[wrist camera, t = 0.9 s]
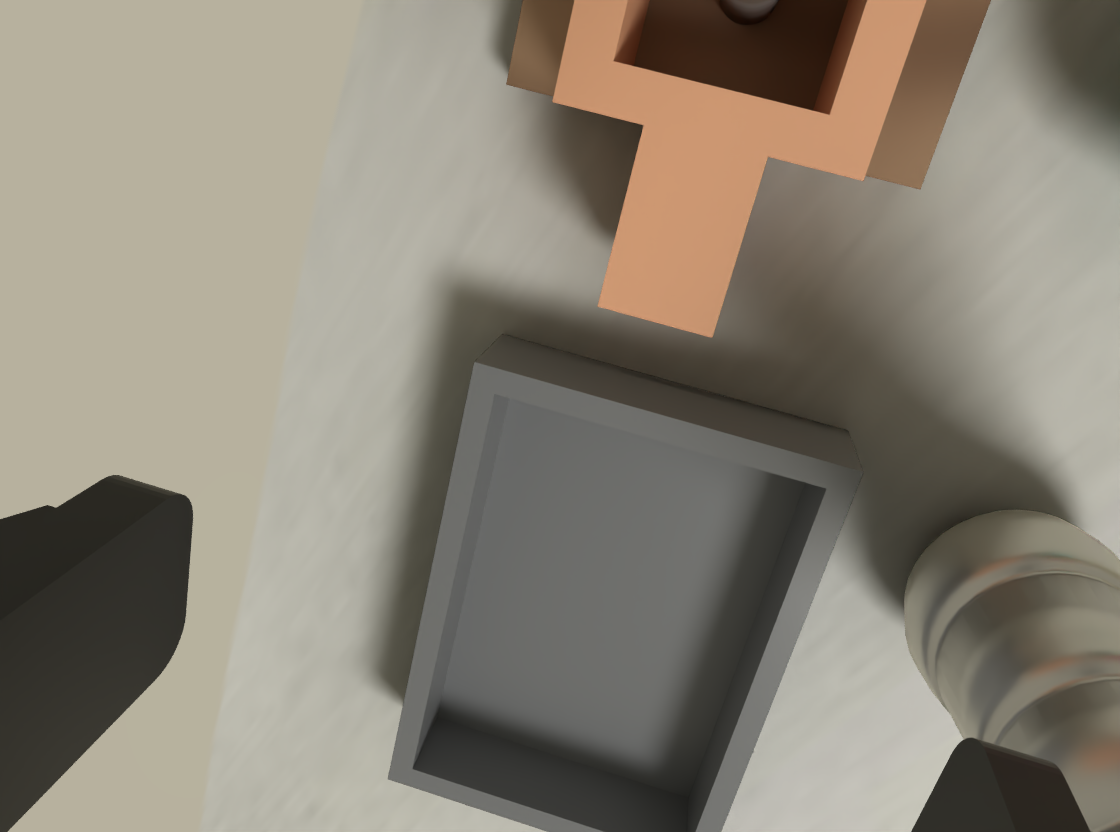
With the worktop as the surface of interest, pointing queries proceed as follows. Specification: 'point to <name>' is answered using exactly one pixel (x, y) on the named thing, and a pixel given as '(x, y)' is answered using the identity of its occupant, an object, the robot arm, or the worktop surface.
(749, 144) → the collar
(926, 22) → the stake stand
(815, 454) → the tray
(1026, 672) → the plastic bottle
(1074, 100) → the worktop surface
